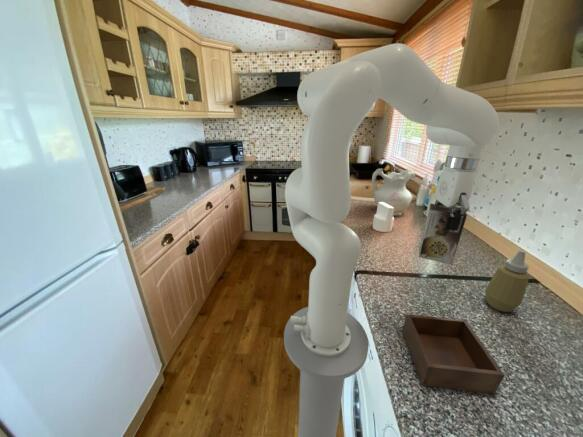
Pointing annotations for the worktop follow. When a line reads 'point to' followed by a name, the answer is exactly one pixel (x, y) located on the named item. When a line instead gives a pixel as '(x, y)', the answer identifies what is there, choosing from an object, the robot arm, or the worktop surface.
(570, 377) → the worktop surface
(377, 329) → the worktop surface
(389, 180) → the ceramic pitcher
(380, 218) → the base with upright slab
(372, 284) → the worktop surface
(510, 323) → the worktop surface
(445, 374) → the tray
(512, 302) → the squeeze bottle
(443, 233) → the coffee box
